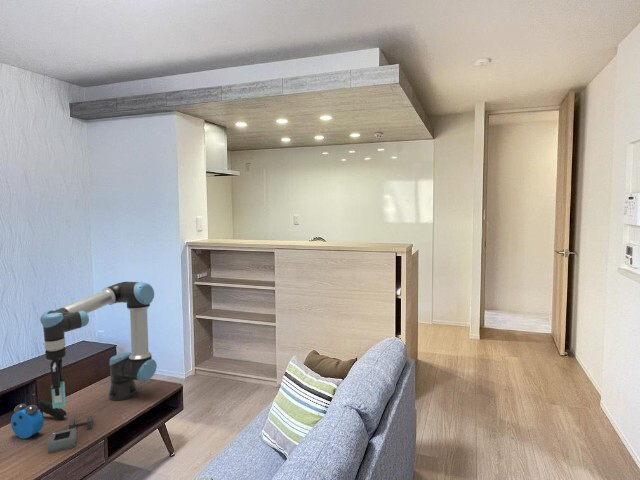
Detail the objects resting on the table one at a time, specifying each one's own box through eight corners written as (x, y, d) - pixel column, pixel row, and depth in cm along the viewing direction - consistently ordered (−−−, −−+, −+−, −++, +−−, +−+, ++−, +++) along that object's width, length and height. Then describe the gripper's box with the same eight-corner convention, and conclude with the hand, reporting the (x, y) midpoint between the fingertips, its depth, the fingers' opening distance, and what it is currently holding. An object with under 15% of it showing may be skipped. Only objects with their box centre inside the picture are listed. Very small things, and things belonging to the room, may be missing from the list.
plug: (65, 402, 189) (64, 379, 188) (64, 406, 185) (62, 382, 184) (54, 404, 187) (52, 381, 186) (52, 408, 183) (51, 384, 182)
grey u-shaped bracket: (93, 422, 207) (92, 414, 206) (91, 428, 200) (91, 420, 200) (71, 426, 203) (70, 418, 202) (69, 433, 196) (68, 425, 196)
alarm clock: (45, 433, 197) (42, 403, 196) (33, 441, 191) (30, 409, 190) (23, 430, 200) (20, 400, 199) (11, 437, 194) (8, 406, 193)
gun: (59, 431, 210) (65, 414, 208) (33, 414, 212) (39, 398, 210) (63, 428, 212) (70, 412, 211) (38, 412, 215) (44, 396, 213)
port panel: (77, 436, 194) (76, 427, 194) (74, 447, 185) (73, 438, 185) (51, 441, 190) (51, 432, 190) (47, 453, 181) (47, 443, 181)
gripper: (48, 344, 190) (52, 393, 192) (41, 356, 175) (45, 410, 176) (67, 341, 193) (71, 390, 195) (62, 353, 178) (66, 406, 179)
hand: (59, 399), depth 186 cm, fingers closed on plug, 4 cm apart
